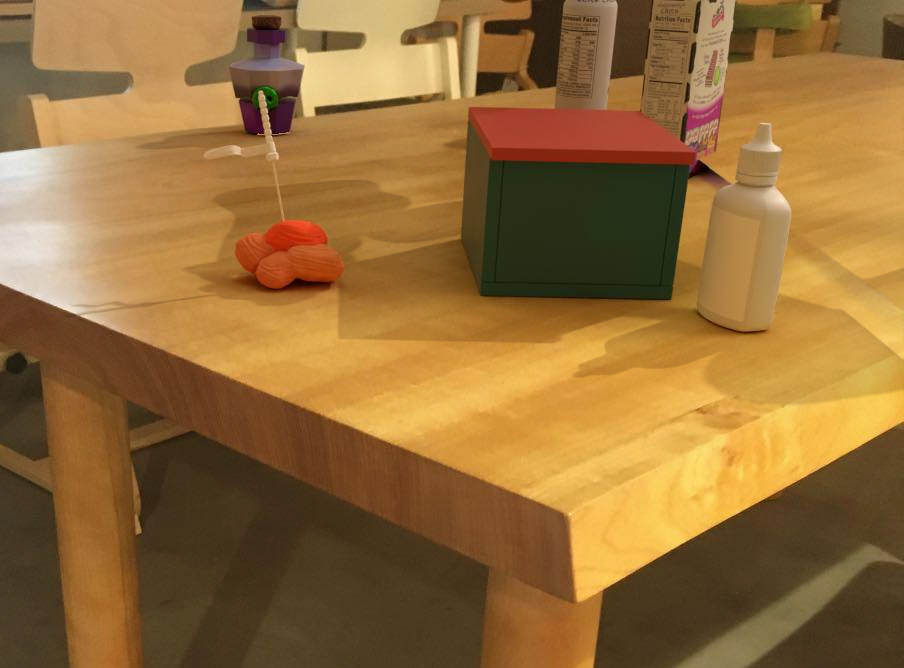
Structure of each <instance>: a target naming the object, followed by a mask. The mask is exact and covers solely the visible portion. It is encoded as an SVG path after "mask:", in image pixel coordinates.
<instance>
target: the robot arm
mask: <svg viewBox="0 0 904 668" xmlns="http://www.w3.org/2000/svg"><path fill="white" fill-rule="evenodd" d="M499 1H500V2H501V3H506V4H521V3H524V2H527V1H528V0H499ZM532 1H534V2H543V1H545V0H532Z"/></svg>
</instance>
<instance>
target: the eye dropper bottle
mask: <svg viewBox="0 0 904 668" xmlns="http://www.w3.org/2000/svg"><path fill="white" fill-rule="evenodd" d="M772 129H773V128H772V123H770V122H759V123H758V126H757V129H756V130H755V134H754V136H753V138H752V140H751V141H750V142H748V143H745V144H742V145H741V146H739V152H738V159H737V165H736V171H735V178H734V180H735V181H736V182H735V183H733V184H728V185H725V186H723V187H721V188H720V189H719V190H718V191H716V193H715V194H714V196H713V200H712V203H711V208H710V213H709V221H708V227H707V232H706V238H705V239H706V241H705V246H704V252H703V258H702V263H701V264H702V265H701V273H700V278H699V284H698V291H697V298H696V309H697V311H698V313H699V314H700V316H702V317H703V318H705V319H706V320H707V321H710V322H711V323H713V324H715V325H718V326H720V327H723V328H726V329H729V330H733V331H736V332H742V333H743V332H745V333H748V332H758V331H759V332H760V331H766V330H769V329H771V327H772V325H773V322H774V317H775V311H776V307H777V301H778V295H779V290H780V286H781V285H780V284H781V280H782V274H783V268H784V263H785V256H786V251H787V246H788V240H789V234H790V229H791V228H790V227H791V221H792V208H791V206H790V204H789V201H788V200H787V198H786V197H785V196H784V195H783V193H782V192H781V191H780V190H778V189H777V187H776V186H775V184H777V182H778V177H779V172H780V171H779V170H780V165H781V160H782V154H783V150H782V148H781V147H780V146H778V145H776V144H775V143H774V141H773V135H772V131H773V130H772Z"/></svg>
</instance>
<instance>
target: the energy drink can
mask: <svg viewBox="0 0 904 668" xmlns="http://www.w3.org/2000/svg"><path fill="white" fill-rule="evenodd" d="M618 7H619V6H618V3H617V0H565V1H564V2H563V7H562V19H561V29H560V40H559V53H558V63H557V73H556V74H557V75H556V86H555V88H556V89H555V95H554V108H553V109H581V110H608V99H609V91H610V83H611V73H612V72H611V71H612V62H613V54H614V53H613V52H614V44H615V36H616V26H617V17H618Z"/></svg>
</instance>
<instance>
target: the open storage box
mask: <svg viewBox="0 0 904 668" xmlns="http://www.w3.org/2000/svg"><path fill="white" fill-rule="evenodd" d="M466 130H467V131H466V143H465V144H466V146H465V147H466V149H465V162H464V180H463V194H462V195H463V197H462V198H463V199H462V212H461V213H462V214H461V229H460V240H461V242H462V246H463V248H464V252H465V253H466V257H467V260H468V263H469V267H470V268H471V272H472V275H473V278H474V281H475V283H476V286H477V289H478V293H479V296H482V297H483V296H487V297H489V296H490V297H529V298H530V297H531V298H533V297H537V298H577V299H578V298H582V299H626V300H627V299H629V300H631V299H634V300H635V299H636V300H672V298H673V293H674V285H675V284H674V283H675V276H676V270H677V262H678V255H679V249H680V242H681V241H680V240H681V235H682V229H683V228H682V227H683V221H684V220H683V219H684V213H685V205H686V199H687V191H688V184H689V179H690V177H689V171H690V165H678V164H634V163H591V162H548V161H505V160H491V158H490V156H489V155H488V153H487V151H486V149H485V147H484V145H483V144H482V142H481V140H480V138H479V136H478V135H477V133H476V131H475V129H474V127H473V125H472V124H471V122H470V120H469V118H468V119H467V128H466Z"/></svg>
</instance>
